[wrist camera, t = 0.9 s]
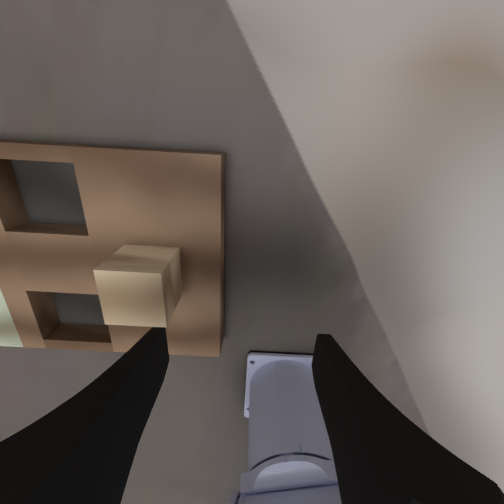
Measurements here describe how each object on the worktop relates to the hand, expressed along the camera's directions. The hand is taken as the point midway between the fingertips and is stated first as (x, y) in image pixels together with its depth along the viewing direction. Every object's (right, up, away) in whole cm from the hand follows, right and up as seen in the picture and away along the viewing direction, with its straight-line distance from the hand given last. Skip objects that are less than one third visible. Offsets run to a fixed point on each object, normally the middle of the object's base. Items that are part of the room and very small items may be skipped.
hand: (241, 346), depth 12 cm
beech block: (-7, +3, +7) cm, 11 cm away
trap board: (-13, +5, +10) cm, 17 cm away
